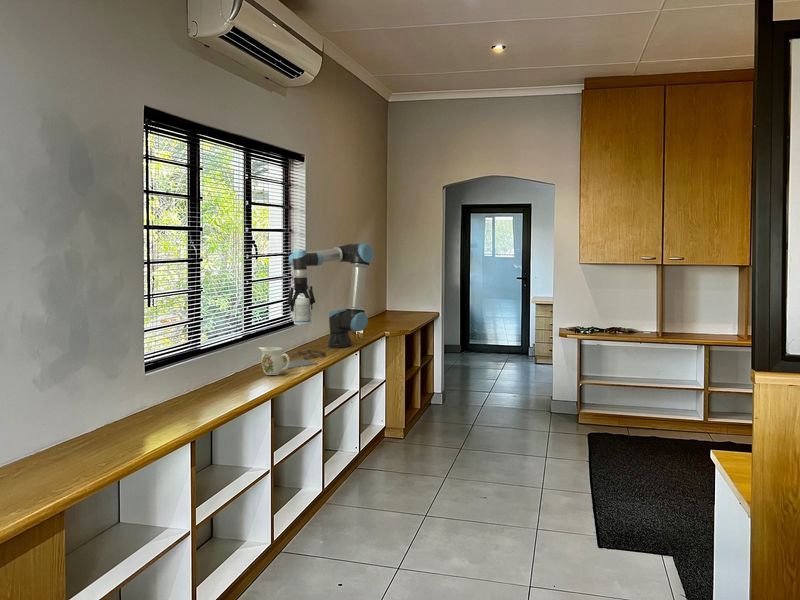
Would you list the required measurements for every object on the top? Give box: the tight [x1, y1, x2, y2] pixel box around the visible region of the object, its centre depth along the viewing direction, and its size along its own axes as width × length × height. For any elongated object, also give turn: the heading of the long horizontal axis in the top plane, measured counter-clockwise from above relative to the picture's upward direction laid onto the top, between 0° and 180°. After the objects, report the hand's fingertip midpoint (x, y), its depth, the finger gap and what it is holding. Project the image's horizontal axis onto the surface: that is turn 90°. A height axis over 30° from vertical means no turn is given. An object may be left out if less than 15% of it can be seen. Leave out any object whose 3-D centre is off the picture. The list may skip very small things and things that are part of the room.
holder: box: [290, 348, 327, 360], centre depth 400 cm, size 14×16×2 cm
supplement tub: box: [293, 297, 312, 326], centre depth 392 cm, size 10×10×15 cm
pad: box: [283, 358, 319, 369], centre depth 377 cm, size 18×18×1 cm
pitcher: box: [257, 346, 291, 376], centre depth 349 cm, size 11×18×14 cm, turn 68°
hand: (301, 316), depth 393 cm, fingers closed on supplement tub, 9 cm apart
